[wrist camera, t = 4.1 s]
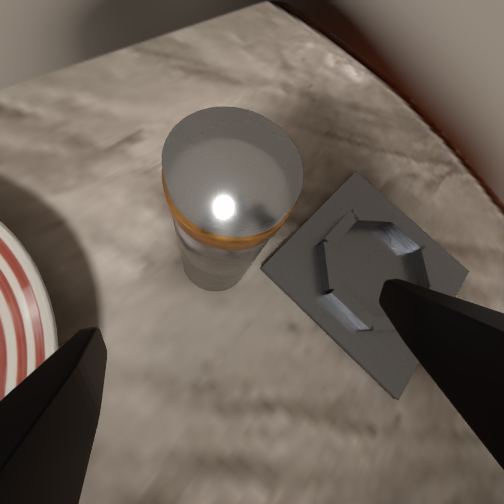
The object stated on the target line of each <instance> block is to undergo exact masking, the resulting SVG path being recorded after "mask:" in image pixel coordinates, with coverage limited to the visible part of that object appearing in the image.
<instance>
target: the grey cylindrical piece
mask: <svg viewBox="0 0 504 504" xmlns="http://www.w3.org/2000/svg"><path fill="white" fill-rule="evenodd" d="M303 179H304V171H303V164H302V160H301V157H300V154H299V152H298V150H297V147H296V146H295V144H294V143H293V141H292V140H291V138H290V137H289V136H288V135H287V134H286V133H285V132H284V131H283V130H282V129H281V128H280V127H279V126H278V125H276V124H275V123H274V122H272V121H271V120H269V119H268V118H266V117H264V116H262V115H260V114H258V113H255V112H253V111H249V110H246V109H242V108H236V107H212V108H207V109H203V110H200V111H197V112H195V113H193V114H191V115H189V116H187V117H185V118H184V119H183V120H181V121H180V122H179V123H178V124H177V125H176V126H175V127H174V128H173V129H172V131H171V132H170V133H169V135H168V137H167V139H166V141H165V144H164V147H163V151H162V183H163V188H164V192H165V197H166V201H167V204H168V208H169V211H170V213H171V215H172V217H173V221H174V225H175V230H176V234H177V239H178V244H179V248H180V253H181V258H182V262H183V267H184V270H185V272H186V275H187V276H188V278H189V279H190V280H191V281H192V282H193V283H194V284H195V285H197V286H198V287H200V288H202V289H205V290H208V291H222V290H226V289H229V288H231V287H232V286H234V285H235V284H237V283H238V282H239V281H240V280H241V278H242V277H243V275H244V274H245V273H246V271H247V270H248V268H249V267H250V266H251V264H252V263H253V261H254V260H255V259H256V257H257V256H258V254H259V253H260V251H261V250H262V249H263V247H264V246H265V244H266V243H267V242H268V240H269V239H270V238H271V237H272V236H273V235H275V233H276V232H277V231H278V230H279V229H280V227H281V226H282V225H283V223H284V222H285V221H286V219H287V218H288V217H289V215H290V213H291V212H292V210H293V208H294V206H295V204H296V200H297V199H298V197H299V195H300V192H301V189H302V186H303Z"/></svg>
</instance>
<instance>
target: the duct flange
mask: <svg viewBox="0 0 504 504" xmlns="http://www.w3.org/2000/svg"><path fill="white" fill-rule="evenodd" d="M261 270H262V271H263V272H264V273H265V274H266V275H267V276H268V277H269V278H270V279H271V280H272V281H273V282H274V283H275V284H276V285H277V286H278V287H279V288H280V289H281V290H282V291H283V292H284V293H285V294H286V295H288V296H289V297H290V298H291V299H292V300H293V301H294V302H295V303H296V304H297V305H298V306H299V307H300V308H301V309H302V310H303V311H304V312H305V313H306V314H307V315H308V316H309V317H310V318H311V319H312V320H313V321H314V322H315V323H316V324H317V325H318V326H319V327H320V328H321V329H323V330H324V331H325V332H326V333H327V334H328V335H329V336H330V337H331V338H332V339H333V340H334V341H335V342H336V343H337V344H338V345H339V346H340V347H341V348H342V349H343V350H344V351H345V352H346V353H347V354H348V355H349V356H350V357H351V358H352V359H353V360H354V361H355V362H356V363H358V364H359V365H360V366H361V367H362V368H363V369H364V370H365V371H366V372H367V373H368V374H369V375H370V376H371V377H372V378H373V379H374V380H375V381H376V382H377V383H378V384H379V385H380V386H381V387H382V388H383V389H384V390H385V391H386V392H387V393H388V394H389V395H390V396H392V397H393V398H394V399H397V400H399V398H400V396H401V394H402V392H403V391H404V389H405V387H406V385H407V383H408V382H409V380H410V378H411V376H412V374H413V372H414V371H415V369H416V367H417V365H418V363H419V361H418V360H417V358H416V357H415V356H414V355H413V353H412V352H411V351H410V349H409V348H408V347H407V345H406V344H405V343H404V341H403V340H402V338H401V337H400V335H399V334H398V332H397V331H396V329H395V328H394V326H393V325H392V323H391V321H390V320H389V318H388V317H387V315H386V314H385V312H384V311H383V309H382V308H381V306H380V304H379V297H380V294H381V290H382V287H383V284H384V282H385V281H386V280H389V279H395V278H397V279H401V280H404V281H407V282H410V283H413V284H416V285H419V286H422V287H425V288H428V289H431V290H434V291H437V292H440V293H443V294H446V295H449V296H452V297H455V296H456V294H457V292H458V291H459V289H460V287H461V285H462V283H463V282H464V280H465V278H466V276H467V274H468V272H469V271H468V270H467V269H466V268H465V267H464V266H463V265H461V264H460V263H459V262H458V261H457V260H456V259H455V258H454V257H452V256H451V255H450V254H449V253H448V252H447V251H446V250H445V249H443V248H442V247H441V246H440V245H439V244H438V243H437V242H436V241H434V240H433V239H432V238H431V237H430V236H429V235H428V234H427V233H425V232H424V231H423V230H422V229H421V228H420V227H419V226H418V225H416V224H415V223H414V222H413V221H412V220H411V219H410V218H409V217H407V216H406V215H405V214H404V213H403V212H402V211H401V210H399V209H398V208H397V207H396V206H395V205H394V204H393V203H392V202H390V201H389V200H388V199H387V198H386V197H385V196H384V195H383V194H381V193H380V192H379V191H378V190H377V189H376V188H375V187H374V186H372V185H371V184H370V183H369V182H368V181H367V180H366V179H365V178H363V177H362V176H361V175H360V174H359V173H358V172H357V171H355V173H354V174H353V175H352V176H351V177H350V178H349V179H348V180H347V181H346V182H345V183H344V184H343V185H342V186H341V187H340V188H339V189H338V190H337V191H336V192H335V193H334V194H333V195H332V196H331V197H330V198H329V199H328V200H327V201H326V202H325V203H324V204H323V205H322V206H321V207H320V208H319V209H318V210H317V211H316V212H315V213H314V214H313V215H312V216H311V217H310V218H309V219H308V220H307V221H306V223H305V224H304V225H303V226H302V227H301V228H300V229H299V230H298V231H297V232H296V233H295V234H294V235H293V236H292V237H291V238H290V239H289V240H288V241H287V242H286V243H285V244H284V245H283V246H282V247H281V248H280V249H279V250H278V251H277V252H276V253H275V254H274V255H273V256H272V257H271V258H270V259H269V260H268V261H267V262H266V263H265V264H264V265H263V266H262V267H261Z"/></svg>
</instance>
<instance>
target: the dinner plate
mask: <svg viewBox="0 0 504 504" xmlns="http://www.w3.org/2000/svg"><path fill="white" fill-rule="evenodd" d="M58 348H59V346H58V336H57V326H56V321H55V316H54V312H53V308H52V304H51V301H50V298H49V295H48V292H47V289H46V287H45V284H44V281H43V279H42V277H41V275H40V273H39V270H38V268H37V267H36V265H35V263H34V261H33V260H32V258H31V256H30V255H29V253H28V252H27V251H26V249H25V248H24V246H23V245H22V243H21V242H20V241H19V240H18V239H17V237H16V236H15V235H14V234H13V233H12V232H11V231H10V230H9V229H8V228H7V227H6V226H5V225H4V224H3V223H2V222H1V221H0V400H1V399H2V398H4V397H5V396H6V395H7V394H8V393H9V392H10V391H11V390H13V389H14V388H15V387H16V386H17V385H18V384H19V383H20V382H22V381H23V380H24V379H25V378H26V377H27V376H28V375H29V374H30V373H32V372H33V371H34V370H35V369H36V368H37V367H38V366H39V365H41V364H42V363H43V362H44V361H45V360H46V359H47V358H48V357H49V356H51V355H52V354H53V353H54V352H55V351H56V350H57V349H58Z"/></svg>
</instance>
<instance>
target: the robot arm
mask: <svg viewBox="0 0 504 504" xmlns="http://www.w3.org/2000/svg"><path fill="white" fill-rule="evenodd" d="M379 304H380V306H381V308H382V309H383V311H384V312H385V314H386V315H387V317H388V318H389V320H390V321H391V323H392V325H393V326H394V328H395V329H396V331H397V332H398V334H399V335H400V337H401V338H402V340H403V341H404V343H405V344H406V345H407V347H408V348H409V349H410V351H411V352H412V353H413V355H414V356H415V357H416V358H417V360H418V361H419V362H420V364H421V365H422V366H423V367H424V369H425V370H426V371H427V373H428V374H429V375H430V376H431V378H432V379H433V380H434V381H435V383H436V384H437V385H438V387H439V388H440V389H441V390H442V392H443V393H444V394H445V396H446V397H447V398H448V399H449V401H450V402H451V403H452V404H453V406H454V407H455V408H456V410H457V411H458V412H459V413H460V415H461V416H462V417H463V419H464V420H465V421H466V422H467V424H468V425H469V426H470V428H471V429H472V430H473V431H474V433H475V434H476V435H477V436H478V438H479V439H480V440H481V442H482V443H483V444H484V445H485V447H486V448H487V449H488V451H489V452H490V453H491V454H492V456H493V457H494V458H495V460H496V461H497V462H498V463H499V465H500V466H501V467H502V468H503V470H504V313H501V312H498V311H495V310H492V309H489V308H486V307H483V306H480V305H477V304H474V303H471V302H468V301H465V300H462V299H459V298H456V297H452V296H449V295H446V294H443V293H440V292H437V291H434V290H431V289H428V288H425V287H422V286H419V285H416V284H413V283H410V282H407V281H404V280H401V279H397V278H395V279H389V280H386V281H385V282H384V284H383V287H382V290H381V294H380V297H379ZM106 361H107V349H106V346H105V343H104V340H103V337H102V334H101V331H100V329H99V328H98V327H90V328H84V329H80V330H79V331H77V332H76V333H75V334H74V335H73V336H72V337H71V338H70V339H68V340H67V341H66V342H65V343H64V344H63V345H62V346H61V347H60V348H58V349H57V350H56V351H55V352H54V353H53V354H52V355H51V356H49V357H48V358H47V359H46V360H45V361H44V362H43V363H42V364H41V365H39V366H38V367H37V368H36V369H35V370H34V371H33V372H32V373H30V374H29V375H28V376H27V377H26V378H25V379H24V380H23V381H22V382H20V383H19V384H18V385H17V386H16V387H15V388H14V389H13V390H11V391H10V392H9V393H8V394H7V395H6V396H5V397H4V398H2V399H1V400H0V504H79V500H80V495H81V491H82V487H83V483H84V479H85V475H86V470H87V466H88V462H89V458H90V454H91V450H92V446H93V441H94V437H95V433H96V429H97V425H98V420H99V415H100V409H101V402H102V394H103V386H104V378H105V370H106Z"/></svg>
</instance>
